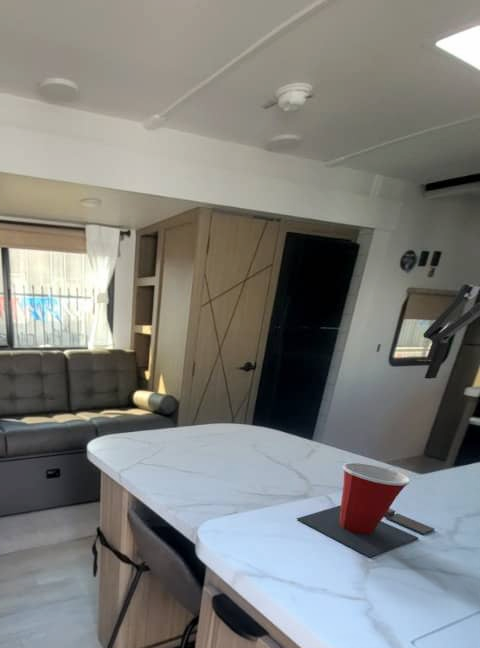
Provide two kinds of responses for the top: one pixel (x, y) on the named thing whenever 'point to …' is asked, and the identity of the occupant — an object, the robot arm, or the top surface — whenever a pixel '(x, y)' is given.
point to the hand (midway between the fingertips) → (470, 384)
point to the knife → (407, 522)
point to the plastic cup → (368, 495)
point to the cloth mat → (365, 544)
